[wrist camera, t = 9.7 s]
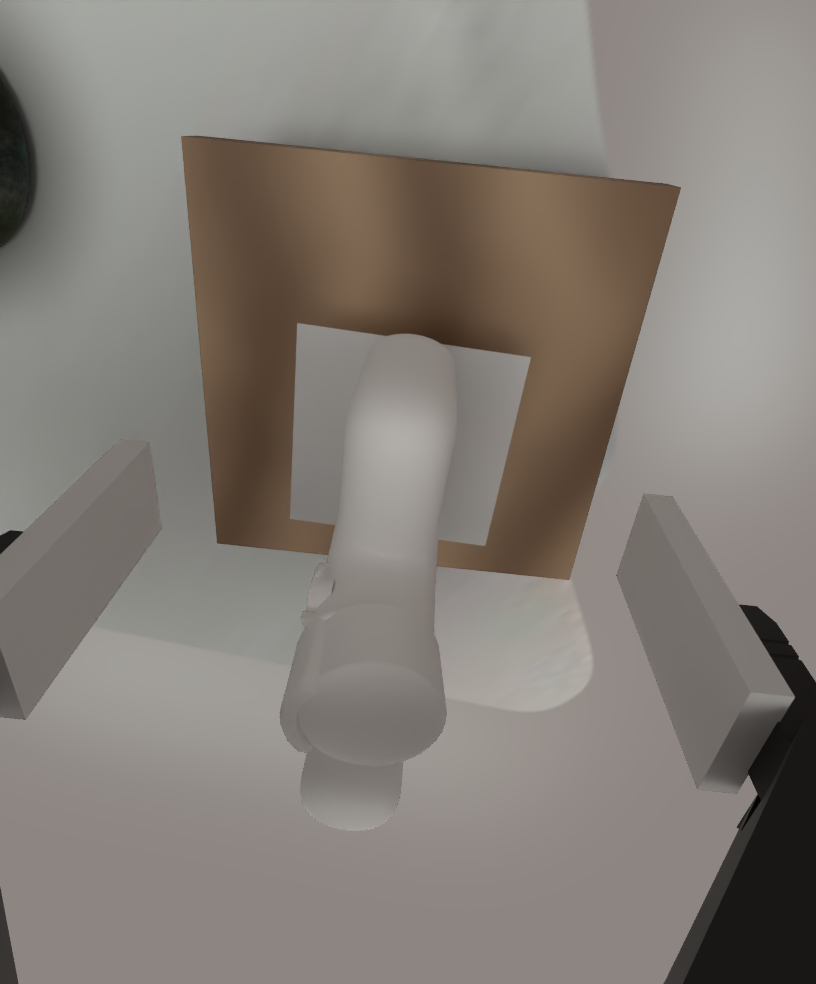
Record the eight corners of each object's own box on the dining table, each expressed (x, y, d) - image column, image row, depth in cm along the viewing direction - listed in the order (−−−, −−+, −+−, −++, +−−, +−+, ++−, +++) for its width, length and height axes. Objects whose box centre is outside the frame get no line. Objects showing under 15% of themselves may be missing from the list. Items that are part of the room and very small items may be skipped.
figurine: (526, 293, 21) (645, 542, 9) (475, 516, 26) (503, 890, 13) (320, 262, 21) (127, 470, 8) (307, 493, 26) (172, 848, 13)
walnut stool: (262, 460, 35) (217, 543, 28) (250, 133, 26) (181, 136, 20) (545, 490, 35) (569, 579, 28) (619, 171, 26) (680, 187, 20)
